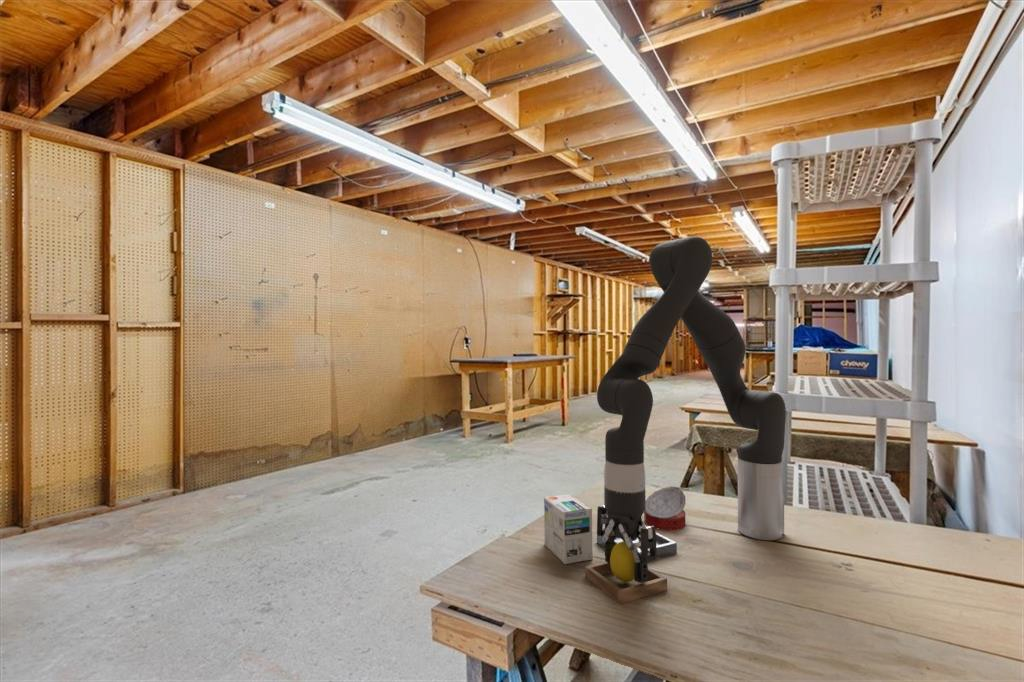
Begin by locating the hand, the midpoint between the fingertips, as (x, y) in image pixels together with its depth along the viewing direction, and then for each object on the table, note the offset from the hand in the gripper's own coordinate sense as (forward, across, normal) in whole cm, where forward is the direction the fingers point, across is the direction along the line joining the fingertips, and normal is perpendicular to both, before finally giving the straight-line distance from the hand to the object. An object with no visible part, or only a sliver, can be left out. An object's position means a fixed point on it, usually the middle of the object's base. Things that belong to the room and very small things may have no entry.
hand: (625, 571), depth 90 cm
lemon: (+2, 0, 0) cm, 2 cm away
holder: (+2, 0, 0) cm, 2 cm away
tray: (+2, +11, -12) cm, 16 cm away
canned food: (+3, +19, -28) cm, 34 cm away
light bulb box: (+3, +16, +2) cm, 17 cm away
